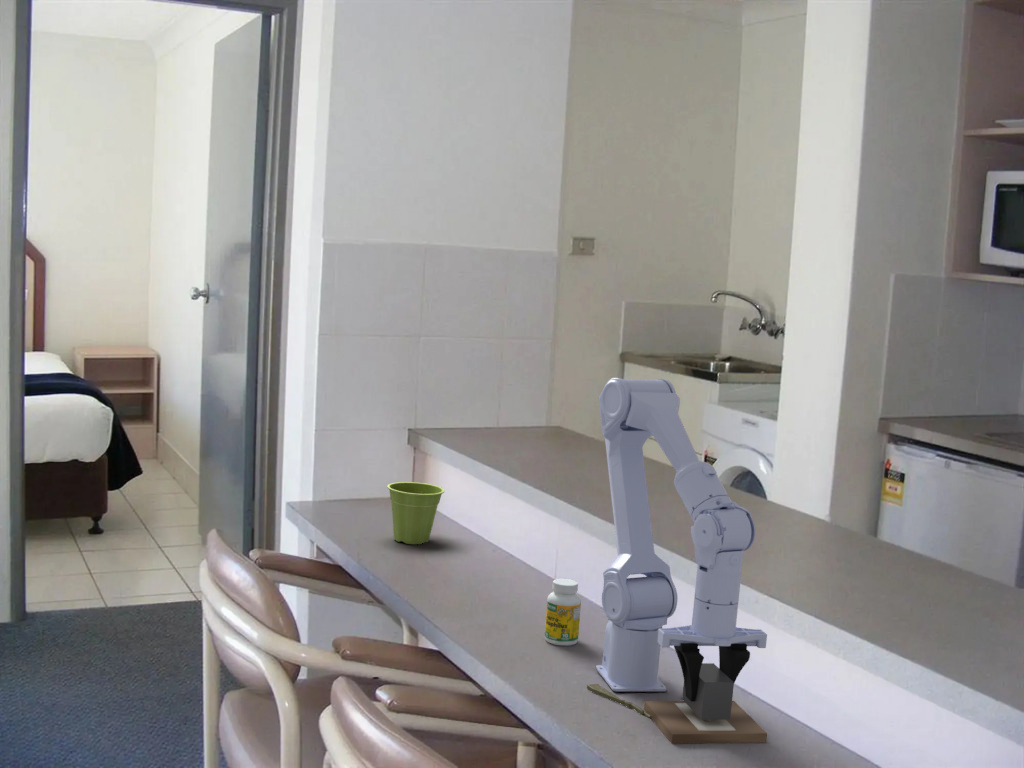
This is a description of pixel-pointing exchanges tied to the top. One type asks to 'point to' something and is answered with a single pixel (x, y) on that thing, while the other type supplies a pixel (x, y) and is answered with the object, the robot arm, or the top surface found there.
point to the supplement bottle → (563, 613)
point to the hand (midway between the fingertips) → (706, 698)
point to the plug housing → (712, 694)
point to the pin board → (703, 724)
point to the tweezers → (614, 698)
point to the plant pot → (413, 510)
